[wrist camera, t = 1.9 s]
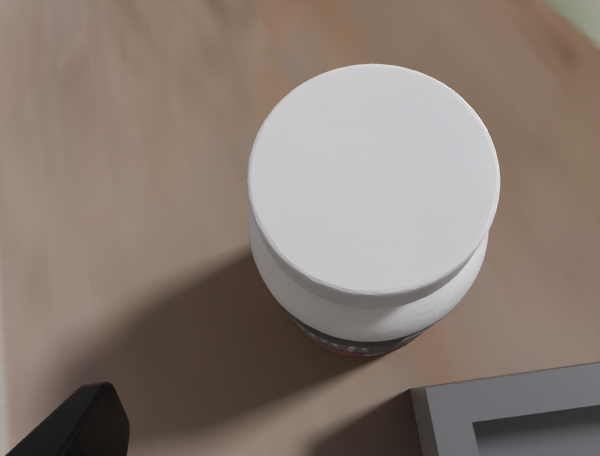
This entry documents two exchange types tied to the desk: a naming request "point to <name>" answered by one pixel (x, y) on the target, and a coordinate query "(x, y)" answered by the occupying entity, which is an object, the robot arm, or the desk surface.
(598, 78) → the desk surface
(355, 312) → the pill bottle
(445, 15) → the desk surface
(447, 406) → the bottle holder
